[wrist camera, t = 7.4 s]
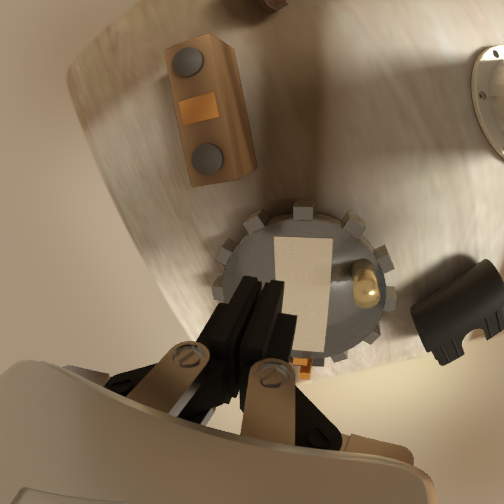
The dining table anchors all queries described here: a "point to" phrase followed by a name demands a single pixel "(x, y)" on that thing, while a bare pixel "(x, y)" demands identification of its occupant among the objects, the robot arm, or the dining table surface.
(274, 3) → the bolt
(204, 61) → the tan block with disc
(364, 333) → the sprocket
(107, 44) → the dining table surface
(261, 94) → the dining table surface
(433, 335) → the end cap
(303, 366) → the sprocket stand
